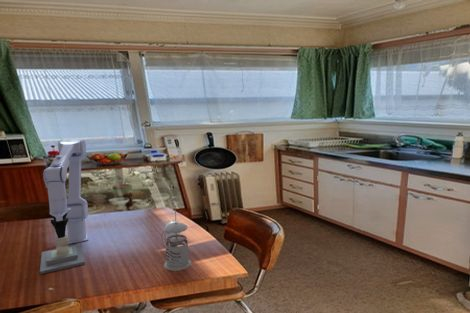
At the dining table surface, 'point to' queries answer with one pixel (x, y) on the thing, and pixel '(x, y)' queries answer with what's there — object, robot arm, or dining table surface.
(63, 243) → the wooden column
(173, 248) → the french press
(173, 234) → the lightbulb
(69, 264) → the stepped stand
